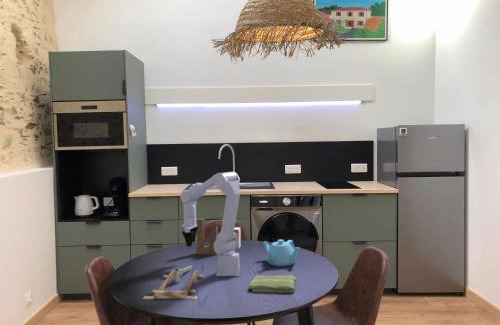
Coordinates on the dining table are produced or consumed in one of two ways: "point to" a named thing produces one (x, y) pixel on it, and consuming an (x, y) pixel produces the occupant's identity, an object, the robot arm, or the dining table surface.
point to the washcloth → (273, 284)
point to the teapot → (281, 253)
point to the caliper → (181, 273)
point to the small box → (238, 236)
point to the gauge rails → (174, 294)
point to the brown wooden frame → (200, 239)
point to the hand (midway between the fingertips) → (190, 244)
